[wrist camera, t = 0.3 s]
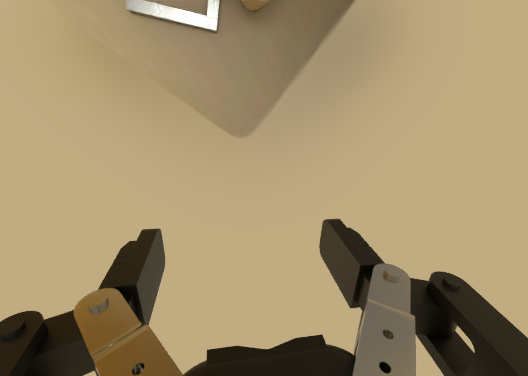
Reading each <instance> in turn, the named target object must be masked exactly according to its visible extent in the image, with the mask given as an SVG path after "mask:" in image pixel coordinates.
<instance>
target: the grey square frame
mask: <svg viewBox="0 0 528 376" xmlns="http://www.w3.org/2000/svg"><path fill="white" fill-rule="evenodd" d="M219 2H220V0H208V9H207V16H205V15H201V14H197V13H193V12H189V11H185V10H181V9H177V8H173V7H168V6H164V5H160V4H156V3H152V2H148V1H144V0H127V10H128V11H130V12H131V13H136V14H140V15H144V16H148V17H153V18H157V19H161V20H165V21H170V22H174V23H178V24H182V25H186V26H191V27H195V28H199V29H203V30H208V31H212V32H217V22H218V12H219Z"/></svg>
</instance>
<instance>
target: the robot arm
mask: <svg viewBox="0 0 528 376" xmlns="http://www.w3.org/2000/svg"><path fill="white" fill-rule="evenodd" d="M319 247H320V254H321V257H322V258H323V260H324V262H325V264H326V266H327V267H328V269H329V271H330V273H331V275H332V276H333V278H334V280H335V282H336V283H337V285H338V287H339V289H340V291H341V292H342V294H343V296H344V297H345V300H346V301H347V303H348V305H349V307H350V308H357V307H360V308H361V309H362V314H361V319H360V323H359V329H358V333H357V337H356V342H355V346H354V351H353V354H351V353H350V352H348V351H346V350H344V349H341V348H339V347H336V346H332V345H327V344H326V343H325V340H324V338H323V335H316V336H308V337H300V338H295V339H293V340H290V341H288V342H285V343H283V344H280V345H278V346H276V347H273V348H271V349H258V348H250V347H242V346H232V347H225V348H217V349H210V350H207V360H206V361H204V362H202V363H200V364H198V365H196V366H194V367H193V368H191V369H190V370H189V371H187V372H186V373H185V374H184V375H183V374H182V373H181V371H180V370H179V368H178V367H177V366H176V364H175V363H174V361H173V360H172V358H171V357H170V356H169V355H168V353H167V351H166V350H165V348H164V347H163V346H162V344H161V343H160V341H159V340H158V338H157V337H156V335H155V334H154V333H153V331H152V330H151V329H150V327H149V326H148V325H149V321H150V318H151V314H152V310H153V307H154V303H155V300H156V296H157V293H158V289H159V286H160V282H161V278H162V275H163V272H164V267H165V254H164V247H163V240H162V234H161V230H160V229H144V230H142V231H141V233H140V235H139V237H138V239H137V241H130V242H128V243H127V244H126V245H125V246H123V247H122V248H121V249H120V251H119V253H118V255H117V256H116V259H115V260H114V262H113V264H112V266H111V267H110V269H109V271H108V272H107V274H106V276H105V278H104V280H103V281H102V283H101V285H100V287H99V289H98V290H97V291H94V292H92V293H90V294H88V295H87V296H85V297H84V298H83V299H81V300H80V301H79V302H78V304H77V305H76V306H75V308H74V310H72V311H70V312H67V313H64V314H61V315H58V316H54V317H51V318H48V319H45V320H44V319H43V316H42V314H40V313H39V312H36V311H26V312H21V313H18V314H15V315H12V316H10V317H8V318H6V319H4V320H3V321H1V322H0V376H83V375H85V374H87V373H90V372H92V371H95V373H96V375H97V376H416V347H415V346H416V344H415V334H416V335H417V337H418V338H419V340H420V341H421V343H422V344H423V345H424V347H425V348H426V350H427V351H428V353H429V354H430V356H431V357H432V358H433V360H434V361H435V363H436V364H437V366H438V367H439V369H440V370H441V372H442V373H443V375H444V376H528V338H527V337H526V336H525V335H524V334H523V333H522V332H520V331H519V330H518V329H517V328H516V327H515V326H514V325H513V324H512V323H511V322H509V321H508V320H507V319H506V318H505V317H504V316H503V315H502V314H501V313H499V312H498V311H497V310H496V309H495V308H494V307H493V306H491V304H490V303H488V302H487V301H486V300H485V299H484V298H483V297H482V296H481V295H480V294H478V293H477V292H476V291H475V290H474V289H473V288H472V287H471V286H470V285H469V284H467V283H466V282H465V281H464V280H462V279H461V278H459V277H457V276H455V275H453V274H450V273H446V272H434V273H432V274H431V276H430V279H429V281H425V280H419V279H413V278H409V276H408V274H407V273H406V272H405V271H403V270H402V269H400V268H398V267H396V266H394V265H391V264H385V263H384V262H383V261H382V259H381V258H380V257H379V256H378V255H377V254H376V253H375V251H374V250H373V249H372V248H371V247H370V246H369V245H368V243H367V242H366V241H364V239H363V238H362V237H361V235H360V234H359V233H357V232H356V231H354V230H353V229H351V228H347V227H346V226H345V225H344V224H343V222H342V221H341V220H340V219H326V220H324V221H323V225H322V231H321V238H320V246H319ZM457 325H458V326H459V327H460V328H461V330H462V331H463V332H464V333H465V334H466V336H467V337H468V338H469V339H470V340H471V342H472V344H473V346H474V350H475V353H474V352H473V351H472V350H471V349H470V348H469V346H468V345H467V344H466V343H465V342H464V341H463V340H462V338H461V337H460V336H459V335H458V334H457V332H456V331H455V329H456V327H457Z"/></svg>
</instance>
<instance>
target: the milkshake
mask: <svg viewBox="0 0 528 376" xmlns="http://www.w3.org/2000/svg"><path fill="white" fill-rule="evenodd" d="M268 1H269V0H241V2H242V5H243V6H245V7H246V8H247V9H248V10H251V11H257V10H259V9H260V8H261V7H262V6H263V5H264V4H266V3H267V2H268Z"/></svg>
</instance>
